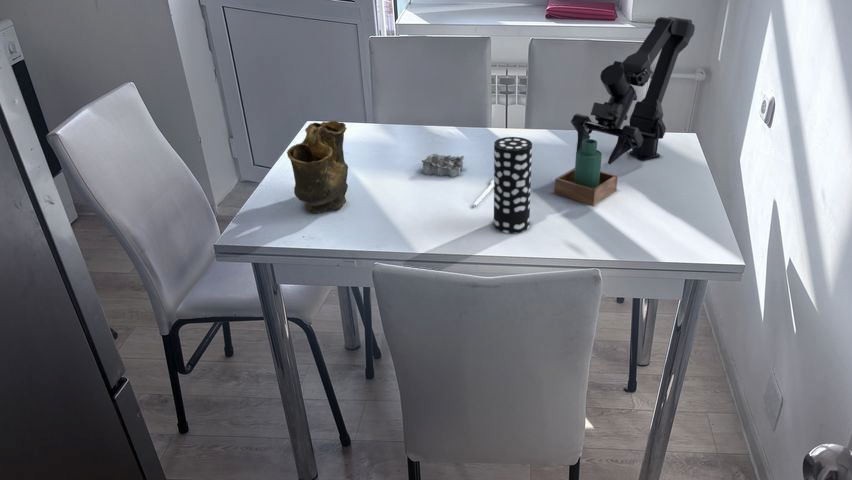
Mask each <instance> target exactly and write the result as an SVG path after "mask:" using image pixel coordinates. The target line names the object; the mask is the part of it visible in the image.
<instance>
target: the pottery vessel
mask: <svg viewBox="0 0 852 480" xmlns="http://www.w3.org/2000/svg"><path fill="white" fill-rule="evenodd" d="M347 129H348V128H347V127H346V123H344V122H340V121H337V120H330V121H329V120H328V121H322V122H313V123H309V125H307V127H306V128H305V129H304V132H305V133H306V135H305V137H304V139H303V141H302V142H300V143H296V144H293V146H290V147H289V148H288V149H287V152H286V155H287V158H288V159H289V161H290V163H291V167H292V172H293V177H294V182H295V183H294V187H293V192H294V195H295V197H296V198H297V199H298V200H299V201H301V202H303V203H304V204H305V205H304V208H305V209H306V211H308V212H309V213H313V214H315V213H316V212H318V213H325V212H326V210H327V209H329V208H330V209H332V210H337V211H338V210H340V209H341V208H343V207H344V205H345V204H346V203H347V198H346V193H347V191H348V188H349V185H348V183H347V181H348V173H349V171H348V170H349V166H348V164H347V163H346V161H345V155H344V138H345V132H346V131H347Z"/></svg>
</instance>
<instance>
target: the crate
mask: <svg viewBox="0 0 852 480" xmlns="http://www.w3.org/2000/svg"><path fill="white" fill-rule="evenodd" d="M574 175H575V167H573V168H572V169H570V170H568V171H566V172H565V173H563V174H561V175H559V176H557V177H556V178H555V179H554V191H553V193H554V194H555V195H558V196H561V197H565V198H567V199H571V200H574V201H577V202H580V203H583V204H586V205H590V206H595V205H597V204H598V203H600V202H601V201H603V200H604V199H606V198H607V197H609V196H610V195H612V194H613V193H615V192H616V191H617V186H618V179H619V177H618V175H616V174H612V173H610V172H609V173H608V172H605V171H601V170H600V179H599V186H597V187H596V188H594V189H593V188H589V187H586V186H583V185H579V184H576V183H574Z"/></svg>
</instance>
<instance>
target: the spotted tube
mask: <svg viewBox="0 0 852 480" xmlns="http://www.w3.org/2000/svg"><path fill="white" fill-rule="evenodd" d="M493 144H494V145H493V178H494V187H493V227H494V229H496V230H497V231H499V232H501V233H505V234H519V233H523V232H525V231H527V230H528V229H529V228H530V218H531V217H530V216H531V214H530V213H531V191H532V190H531V188H532V187H531V185H532V163H533V162H532V161H533V160H532V159H533V142H532V141H531V140H529V139H527V138H524V137H518V136H506V137H501V138H498V139H496V140H495V141H494V143H493Z"/></svg>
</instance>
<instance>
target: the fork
mask: <svg viewBox="0 0 852 480" xmlns="http://www.w3.org/2000/svg"><path fill="white" fill-rule="evenodd" d="M493 189H494V177H493V178H492V179H491V181H490V182H489V185H488V186H487V187H486V189H485V190H484V191H483V193H481V194H480V196H478V198H477V199H476V200H475V201H474V202H473V204H472V205H473V207H477V205H479V203H480V202H481V201H482V200H483V199H484V198H485V197H486V196H487V195H488V194H489V193H490V192H491V191H492V190H493Z"/></svg>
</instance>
